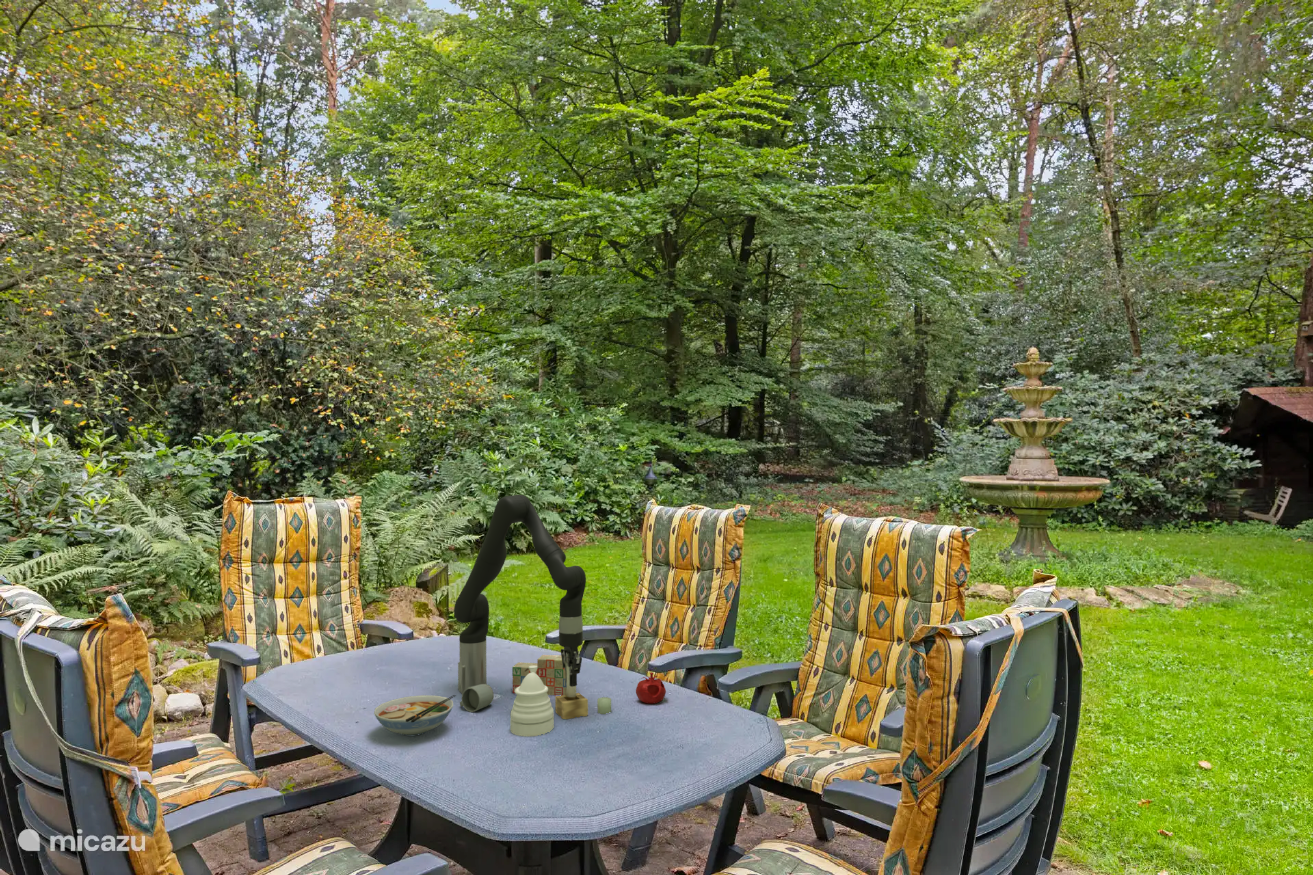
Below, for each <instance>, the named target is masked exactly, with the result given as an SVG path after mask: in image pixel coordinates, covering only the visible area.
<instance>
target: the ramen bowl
mask: <svg viewBox="0 0 1313 875" xmlns="http://www.w3.org/2000/svg"><path fill="white" fill-rule="evenodd" d="M456 696H457V694H453V695H451V696H449V697H445V696H439V695H426V694H425V695H424V694H423V695H411V696H405V697H400V698H396V699H391V700H389V701H385V702H383V703H380V704H379V705H378V706H377V707H375V708H374V713H373V715H374V716H375V718H376V720H378V723H380V725H381V726H383V728H385V729H387V730H388V731H390V732H392V733H395V734H400V735H402V736H406V735H415V736H419V735H418V734H420V735H423V734H425V733H427V732H428V731H431V730H434V729H435V728H437V727H439V726H440V725H441V724H442V723H443V722H444V721H445V720H446V719H447V718H448V716H449V715H450V713H451V712H452V709H453V707H454V701H453V700H452V699H453V698H455V697H456ZM422 733H423V734H422Z"/></svg>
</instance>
